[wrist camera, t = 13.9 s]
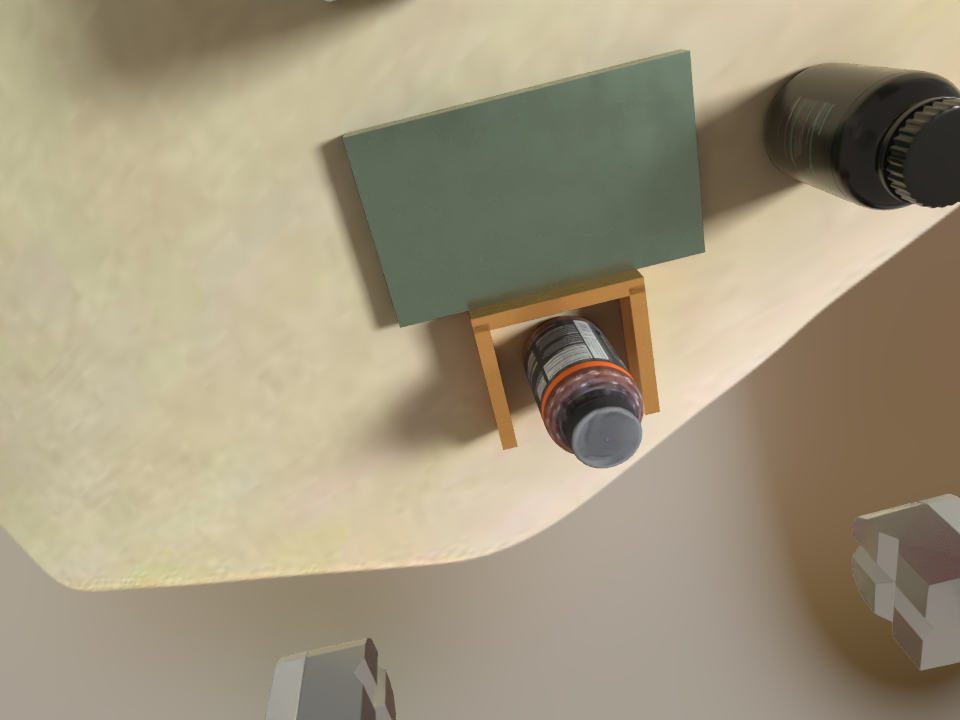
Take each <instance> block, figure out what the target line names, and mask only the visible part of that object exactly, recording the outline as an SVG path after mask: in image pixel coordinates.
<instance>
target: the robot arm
mask: <svg viewBox="0 0 960 720" xmlns="http://www.w3.org/2000/svg"><path fill="white" fill-rule="evenodd" d="M853 536H854V537H855V539H856V540H857V541H858V542H859V543H860V546H859V548H858V549H857V550H856V552H855V553H854V554H853V555H852V572H853V575H854V578H855V581H856V585H857V588H858V589H859V591H860V593H861V595H862V597H863V599H864V600H865V602H866V603H867V604H868V606H869V607H870V608H871V609H872V611H873V612H874V613H875V614H877V615H879V616H881V617H883V618H885V619H887V620H890V621H892V622H893V629H892V636H893V637H894V638H895V640H896V641H897V642H898V643H899V645H900V646H901V647H902V649H903V650H904V651H905V652H906V653H907V655H908V656H909V657H910V658H911V660H912V661H913V662H914V663H915V665H916V666H917V667H918V668H919V670H925V669H929V668H934V667H939V666H944V665H948V664H953V663H958V662H960V499H959V498H958V497H956V496H954V495H951V494H946V495H942V496H938V497H934V498H930V499H926V500H922V501H918V502H917V503H910V504H906V505H902V506H898V507H894V508H890V509H887V510H883V511H879V512H875V513H871V514H867V515H863V516H859V517H857V518H856V520H855V522H854V523H853ZM377 663H378V651H377V649H376V647H375V645H374V642H373V640H372V639H371V638H364V639H360V640H355V641H350V642H345V643H341V644H336V645H332V646H327V647H323V648H318V649H313V650H310V651H307V652H302V653H298V654H293V655H288V656H284V657H281V658H280V659H279V661H278V663H277V665H276V666H275V670H274V676H273V680H272V685H271V690H270V695H269V700H268V705H267V710H266V715H265V720H396V710H395V702H394V694H393V690H392V687H391V683H390V680H389V677H388V674H387V672H386V670H385V669H383V668H381V667H379V666H378V664H377Z"/></svg>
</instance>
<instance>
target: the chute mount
mask: <svg viewBox="0 0 960 720" xmlns="http://www.w3.org/2000/svg"><path fill="white" fill-rule="evenodd" d="M342 139H343V142H344V146H345V149H346V152H347V155H348V159H349V162H350V165H351V169H352V172H353V175H354V178H355V182H356V185H357V188H358V191H359V195H360V198H361V201H362V205H363V208H364V211H365V214H366V218H367V221H368V224H369V227H370V231H371V234H372V237H373V240H374V244H375V247H376V250H377V254H378V257H379V260H380V263H381V267H382V270H383V273H384V276H385V280H386V283H387V286H388V290H389V293H390V296H391V299H392V303H393V306H394V309H395V312H396V316H397V319H398V322H399V325H400V328H401V327H405V326H409V325H413V324H417V323H421V322H425V321H429V320H433V319H437V318H441V317H445V316H449V315H453V314H457V313H461V312H466V311H469V315H470V320H471V324H472V327H473V331H474V335H475V339H476V343H477V347H478V351H479V355H480V359H481V363H482V367H483V371H484V375H485V379H486V383H487V387H488V391H489V395H490V399H491V403H492V407H493V411H494V415H495V419H496V423H497V427H498V431H499V435H500V438H501V442H502V446H503V450H505V449H510V448H514V447H518V446H517V442H516V438H515V434H514V429H513V425H512V421H511V417H510V413H509V409H508V404H507V400H506V396H505V392H504V388H503V384H502V379H501V375H500V371H499V367H498V363H497V359H496V354H495V350H494V346H493V342H492V338H491V334H490V330H493V329H497V328H501V327H505V326H509V325H513V324H517V323H521V322H525V321H529V320H533V319H537V318H541V317H546V316H550V315H554V314H558V313H562V312H566V311H570V310H574V309H578V308H582V307H586V306H590V305H594V304H598V303H602V302H606V301H610V300H614V299H618V298H619V301H620V308H621V315H622V322H623V329H624V337H625V344H626V351H627V358H628V365H629V372H630V375H631V376H632V377H633V379H634V381H635V383H636V384H637V386H638V387H639V390H640V392H641V395H642V398H643V404H644V411H643V412H644V413H645V415H648V414H652V413H656V412H660V409H659V401H658V392H657V384H656V376H655V368H654V359H653V351H652V343H651V335H650V326H649V318H648V310H647V301H646V293H645V285H644V277H643V276H642V275H641V274H640V273H639V272H638V271H637V269H639V268H643V267H647V266H651V265H655V264H659V263H663V262H667V261H671V260H675V259H679V258H683V257H687V256H691V255H695V254H699V253H703V252H705V244H704V231H703V218H702V205H701V192H700V178H699V165H698V152H697V139H696V125H695V112H694V99H693V86H692V73H691V59H690V51H688V50H677V51H673V52H669V53H665V54H661V55H657V56H653V57H649V58H645V59H641V60H637V61H633V62H629V63H625V64H621V65H617V66H613V67H609V68H605V69H601V70H597V71H593V72H589V73H585V74H581V75H577V76H573V77H569V78H565V79H561V80H557V81H553V82H549V83H545V84H541V85H537V86H533V87H529V88H525V89H521V90H517V91H513V92H509V93H505V94H501V95H497V96H493V97H489V98H486V99H482V100H478V101H474V102H470V103H466V104H462V105H458V106H454V107H450V108H446V109H442V110H438V111H434V112H430V113H426V114H422V115H418V116H414V117H410V118H406V119H402V120H398V121H394V122H390V123H386V124H382V125H378V126H374V127H370V128H366V129H362V130H358V131H354V132H350V133H346V134H344V135H343V137H342Z"/></svg>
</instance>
